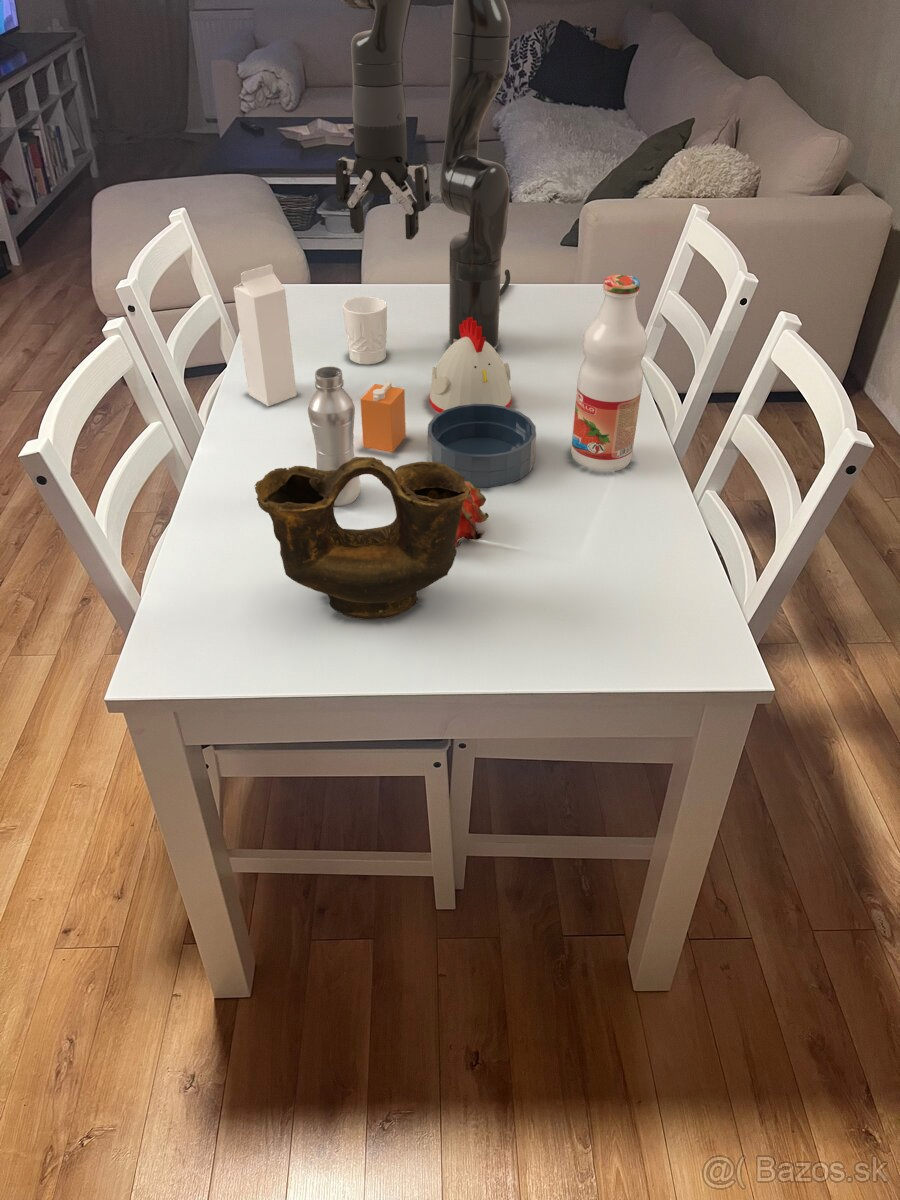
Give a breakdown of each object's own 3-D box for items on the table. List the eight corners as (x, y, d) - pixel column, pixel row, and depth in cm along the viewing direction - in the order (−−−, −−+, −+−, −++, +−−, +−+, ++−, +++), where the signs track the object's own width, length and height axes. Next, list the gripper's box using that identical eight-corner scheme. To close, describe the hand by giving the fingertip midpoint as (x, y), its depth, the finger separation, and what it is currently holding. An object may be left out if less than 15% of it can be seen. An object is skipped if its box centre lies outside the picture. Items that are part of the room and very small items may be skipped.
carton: (377, 434, 151) (374, 377, 145) (406, 440, 150) (404, 382, 144) (363, 451, 147) (359, 392, 141) (392, 456, 146) (390, 398, 140)
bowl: (449, 430, 153) (449, 396, 149) (545, 448, 148) (548, 413, 144) (412, 479, 141) (411, 444, 137) (515, 500, 136) (517, 464, 133)
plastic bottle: (368, 492, 138) (361, 365, 125) (350, 516, 133) (340, 387, 120) (328, 484, 140) (317, 358, 127) (309, 508, 135) (295, 379, 122)
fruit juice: (639, 471, 143) (666, 290, 125) (579, 476, 142) (598, 295, 124) (620, 441, 150) (643, 266, 132) (563, 446, 149) (579, 270, 131)
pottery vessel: (268, 631, 114) (247, 491, 101) (272, 576, 122) (253, 442, 110) (473, 618, 116) (477, 480, 103) (463, 565, 124) (465, 432, 112)
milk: (297, 396, 162) (284, 268, 148) (267, 407, 159) (251, 278, 145) (276, 384, 165) (262, 258, 151) (247, 394, 162) (230, 267, 148)
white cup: (397, 354, 175) (395, 302, 169) (372, 370, 170) (369, 316, 164) (363, 344, 178) (360, 293, 172) (337, 359, 173) (333, 307, 167)
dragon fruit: (471, 520, 135) (450, 578, 127) (423, 487, 133) (399, 544, 125) (505, 488, 129) (486, 547, 121) (456, 453, 127) (433, 511, 119)
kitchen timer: (449, 430, 153) (449, 342, 143) (417, 394, 162) (415, 310, 153) (525, 413, 157) (530, 328, 148) (489, 380, 167) (491, 297, 157)
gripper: (436, 116, 133) (437, 232, 144) (344, 108, 137) (352, 222, 147) (416, 128, 128) (419, 248, 138) (322, 119, 132) (331, 237, 142)
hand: (384, 235), depth 143 cm, fingers open, 8 cm apart
